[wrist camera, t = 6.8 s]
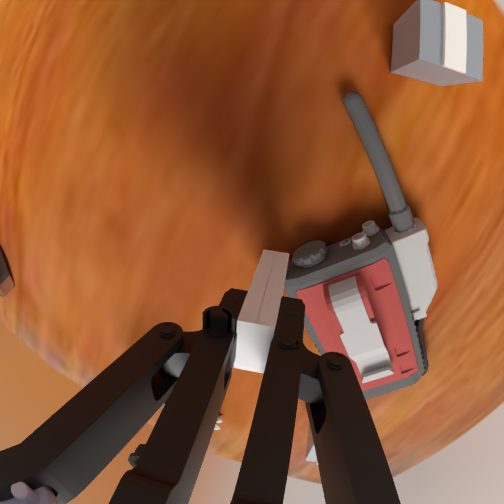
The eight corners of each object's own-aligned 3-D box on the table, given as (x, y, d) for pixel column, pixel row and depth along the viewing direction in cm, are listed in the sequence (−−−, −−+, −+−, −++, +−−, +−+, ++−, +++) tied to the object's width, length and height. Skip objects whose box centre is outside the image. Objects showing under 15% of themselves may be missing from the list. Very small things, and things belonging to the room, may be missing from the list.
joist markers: (393, 24, 12) (422, -6, 7) (442, 39, 12) (485, 19, 7) (309, 414, 25) (304, 463, 21) (341, 417, 25) (340, 466, 20)
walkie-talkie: (445, 350, 20) (363, 86, 14) (460, 391, 17) (379, 78, 11) (345, 384, 24) (224, 152, 18) (345, 427, 20) (197, 165, 14)
